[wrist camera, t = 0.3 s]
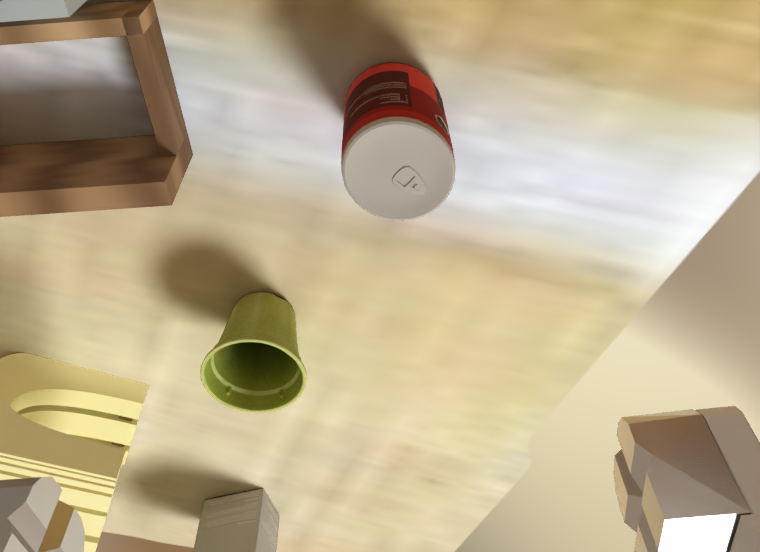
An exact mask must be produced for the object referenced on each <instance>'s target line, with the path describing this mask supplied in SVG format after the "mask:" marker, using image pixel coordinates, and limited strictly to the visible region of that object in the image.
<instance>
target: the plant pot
mask: <svg viewBox="0 0 760 552" xmlns="http://www.w3.org/2000/svg"><path fill="white" fill-rule="evenodd" d="M200 374H201V380H202V383H203V385H204V387H205V389H206V390H207V392H208V393H209V394H210V395H211V396H212V397H213V398H214V399H216V400H217V401H218V402H220V403H222V404H224V405H225V406H227V407H230V408H232V409H236V410H239V411H243V412H251V413H264V412H272V411H276V410H280V409H283V408H285V407H287V406H289V405H291V404H292V403H294V402H295V401H296V400H297V399H298V398H299V397H300V396H301V395H302V393H303V392H304V390H305V387H306V383H307V374H306V370H305V367H304V365H303V363H302V361H301V358H300V356H299V353H298V344H297V334H296V321H295V313H294V310H293V308H292V306H291V305H290V304H289V303H288V302H287V301H286V300H283V299H281V298H278V297H277V296H275V295H274V294H272V293H266V292H257V293H252V294H249V295H246V296H244V297H243V298H241V299H240V300H239V302H238V303H237V304H236V305H235V307H234V309H233V311H232V313H231V316H230V318H229V320H228V322H227V325H226V327H225V329H224V331H223V334H222V336H221V338H220V340H219V343H218V344H217V345H216V346H215V347H214V348H213V349H212V350H211V351H210V352H209V353H208V354H207V356H206V357H205V358H204V361H203V363H202V366H201V371H200Z"/></svg>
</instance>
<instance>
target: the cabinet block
mask: <svg viewBox="0 0 760 552" xmlns="http://www.w3.org/2000/svg"><path fill="white" fill-rule="evenodd" d="M86 1H87V0H0V22H10V21H24V20H37V19H50V18H63V17H70V16H71V15H72V14H73V13H74V12H75V11H76V10H77V9H78V8H79V7H81V6H82V5H83V4H84V3H85V2H86Z"/></svg>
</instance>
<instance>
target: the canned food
mask: <svg viewBox="0 0 760 552" xmlns="http://www.w3.org/2000/svg"><path fill="white" fill-rule="evenodd" d="M341 164H342V176H343V180H344V184H345V187H346V189H347V191H348V193H349V195H350V196H351V197H352V198H353V200H354V201H355V202H356V203H357V204H358V205H359V206H360V207H361V208H363V209H364V210H366V211H367V212H369V213H371V214H373V215H375V216H378V217H380V218H384V219H389V220H400V221H404V220H411V219H416V218H419V217H422V216H425V215H427V214H429V213H430V212H432V211H434V210H435V209H436V208H438V207H439V206H440V205H441V204H442V203H443V202H444V201H445V200H446V198H447V197H448V195H449V193H450V192H451V190H452V187H453V184H454V180H455V160H454V154H453V148H452V143H451V139H450V134H449V130H448V125H447V121H446V116H445V112H444V107H443V103H442V99H441V96H440V93H439V91H438V89H437V88H436V86H435V84H434V83H433V82H432V81H431V80H430V79H429V78H428V77H427V76H426V75H425V74H423V73H422V72H421V71H419V70H418V69H416V68H414V67H411V66H409V65H406V64H401V63H384V64H379V65H376V66H374V67H371V68H370V69H368V70H366V71H365V72H363V73H362V74H361V75H360V76H359V77H358V78H357V79H356V80H355V81H354V83H353V84H352V85H351V87H350V89H349V91H348V94H347V97H346V102H345V112H344V126H343V141H342V161H341Z"/></svg>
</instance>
